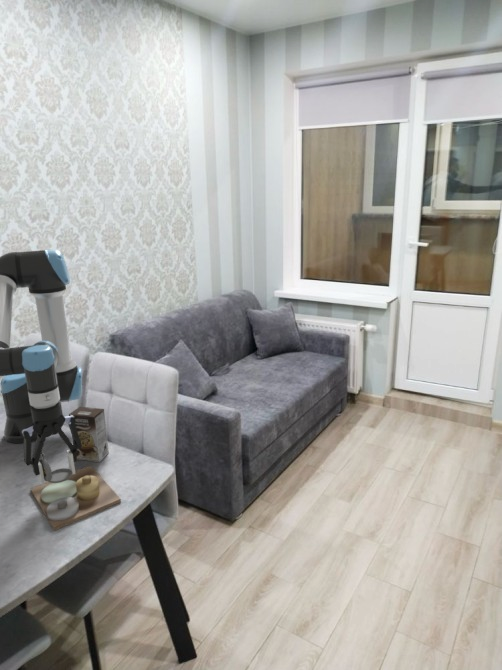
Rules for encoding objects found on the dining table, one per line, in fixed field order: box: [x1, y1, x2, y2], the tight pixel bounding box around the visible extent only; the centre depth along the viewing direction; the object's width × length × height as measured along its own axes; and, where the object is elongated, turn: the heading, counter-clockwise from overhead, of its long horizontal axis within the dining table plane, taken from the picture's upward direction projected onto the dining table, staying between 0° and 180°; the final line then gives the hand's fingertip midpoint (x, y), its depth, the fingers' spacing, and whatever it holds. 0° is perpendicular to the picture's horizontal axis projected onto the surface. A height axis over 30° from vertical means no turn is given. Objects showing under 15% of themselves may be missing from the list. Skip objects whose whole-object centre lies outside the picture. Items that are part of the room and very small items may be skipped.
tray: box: [30, 465, 122, 531], centre depth 134 cm, size 22×18×6 cm
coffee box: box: [68, 406, 110, 463], centre depth 153 cm, size 9×6×16 cm
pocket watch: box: [39, 451, 72, 483], centre depth 132 cm, size 8×8×10 cm
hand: (57, 477), depth 133 cm, fingers closed on pocket watch, 8 cm apart
